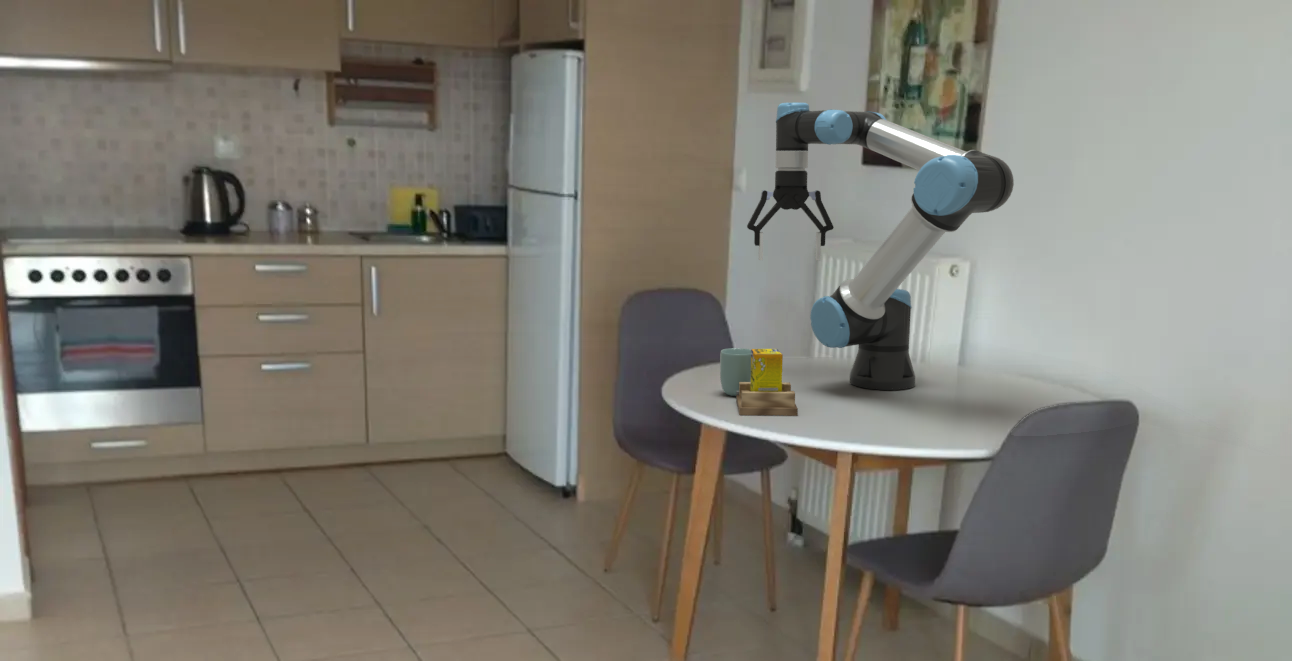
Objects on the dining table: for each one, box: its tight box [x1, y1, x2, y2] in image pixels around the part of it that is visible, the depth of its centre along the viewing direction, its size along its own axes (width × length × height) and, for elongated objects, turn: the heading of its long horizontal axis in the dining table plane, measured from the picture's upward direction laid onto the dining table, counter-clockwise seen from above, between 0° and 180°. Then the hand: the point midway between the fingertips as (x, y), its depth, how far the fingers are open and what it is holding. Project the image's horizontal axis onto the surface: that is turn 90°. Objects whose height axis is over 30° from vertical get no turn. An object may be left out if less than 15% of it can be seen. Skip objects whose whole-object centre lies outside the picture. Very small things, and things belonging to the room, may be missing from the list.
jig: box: [735, 381, 799, 417], centre depth 232 cm, size 12×13×4 cm
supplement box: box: [750, 348, 784, 392], centre depth 231 cm, size 6×6×11 cm
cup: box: [719, 347, 751, 397], centre depth 245 cm, size 8×8×10 cm
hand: (789, 259), depth 259 cm, fingers open, 13 cm apart
